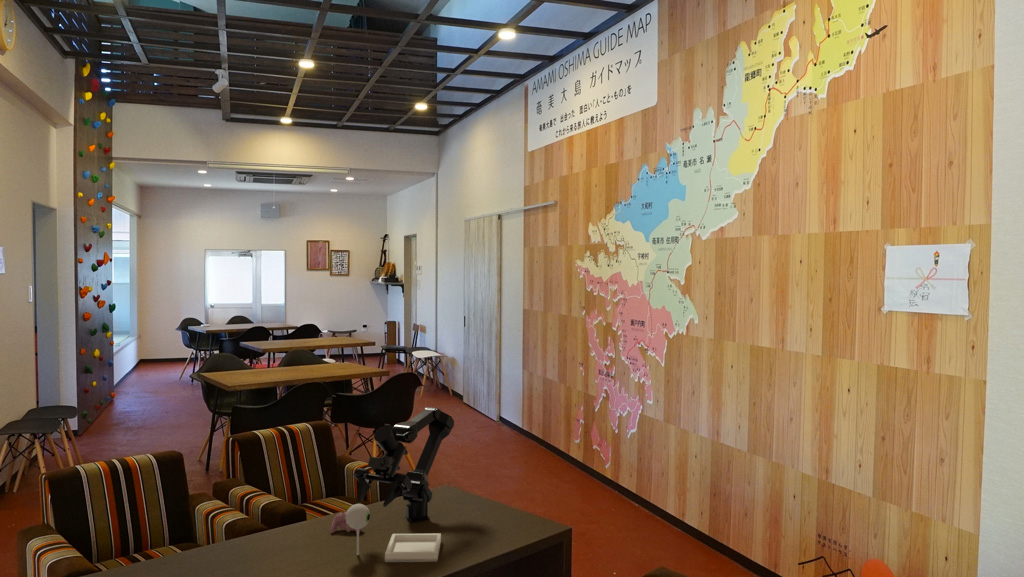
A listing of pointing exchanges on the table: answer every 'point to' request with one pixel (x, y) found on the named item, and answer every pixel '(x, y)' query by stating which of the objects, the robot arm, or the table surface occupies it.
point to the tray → (413, 548)
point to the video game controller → (341, 523)
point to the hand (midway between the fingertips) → (371, 504)
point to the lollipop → (357, 518)
